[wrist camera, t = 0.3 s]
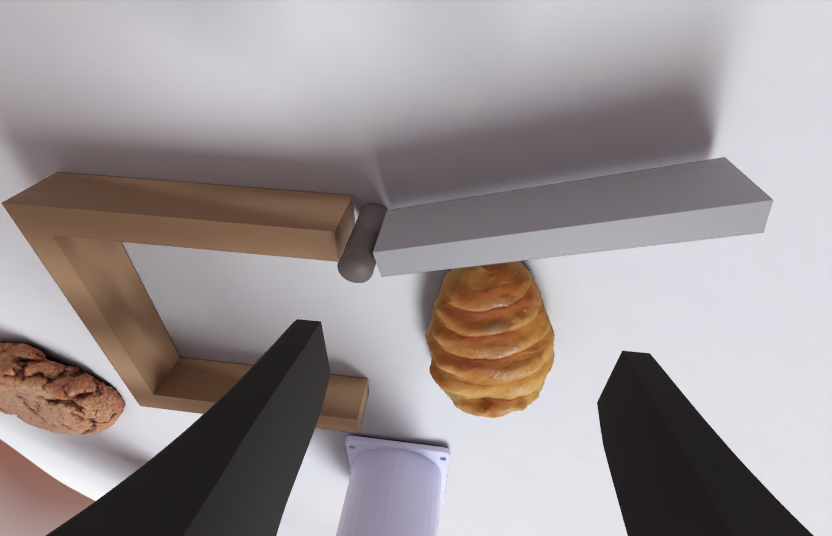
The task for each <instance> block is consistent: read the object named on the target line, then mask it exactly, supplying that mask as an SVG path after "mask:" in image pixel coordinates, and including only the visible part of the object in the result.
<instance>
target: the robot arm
mask: <svg viewBox="0 0 832 536" xmlns="http://www.w3.org/2000/svg"><path fill="white" fill-rule="evenodd" d="M329 378H330V368H329V363H328V357H327V352H326V346H325V341H324V336H323V330H322V325H321V322H319V321H309V320H299V319H297V320H296V321H295V322H293V323H292V325H291V326H290V327H289V328H288V329H287V330H286V331H285V332H284V333H283V334H282V335H281V337H280V338H279V339H278V340H277V341H276V342H275V343H274V344H273V345H272V346H271V347H270V349H269V350H268V351H267V352H266V353H265V354H264V355H263V356H262V357H261V358H260V359H259V360H258V361H257V362H256V363H255V364H254V365H253V366H252V367H251V369H250V370H249V371H248V372H247V373H246V374H245V375H244V376H243V377H242V378H241V379H240V380H239V381H238V382H237V383H236V384H235V385H234V386H233V387H232V388H231V389H230V390H229V391H228V392H227V393H226V394H225V395H224V396H223V397H221V398H220V399H219V400H218V401H217V402H216V403H215V404H214V405H213V406H212V407H211V408H210V409H209V410H207V411H206V412H205V413H204V414H203V415H202V416H201V417H200V418H199V419H198V420H197V421H196V422H195V423H193V424H192V425H191V426H190V427H189V428H188V429H187V430H185V431H184V432H183V433H182V434H181V435H180V436H179V437H177V438H176V439H175V440H174V441H173V442H172V443H170V444H169V445H168V446H167V447H166V448H164V449H163V450H162V451H161V452H159V453H158V454H157V455H156V456H155V457H153V458H152V459H151V460H150V461H148V462H147V463H146V464H145V465H143V466H142V467H141V468H139V469H138V470H137V471H135V472H134V473H133V474H132V475H130V476H129V477H128V478H126V479H125V480H124V481H122V482H121V483H120V484H118V485H117V486H116V487H115V488H113V489H112V490H111V491H109V492H108V493H106V494H105V495H104V496H102V497H101V498H100V499H98V500H97V501H95V502H94V503H93V504H91V505H90V506H88V507H87V508H86V509H84V510H83V511H81V512H80V513H78V514H77V515H76V516H74V517H73V518H71V519H69V520H68V521H67V522H65V523H64V524H62V525H61V526H60V527H58V528H56V529H55V530H53V531H52V532H50V533H49V534H47V535H46V536H276V535H277V531H278V528H279V524H280V521H281V518H282V515H283V512H284V509H285V506H286V503H287V500H288V498H289V495H290V492H291V490H292V487H293V485H294V482H295V479H296V477H297V474H298V471H299V469H300V466H301V464H302V461H303V458H304V456H305V453H306V451H307V448H308V445H309V443H310V440H311V437H312V435H313V432H314V429H315V427H316V424H317V421H318V419H319V416H320V413H321V410H322V406H323V402H324V398H325V395H326V391H327V386H328V382H329ZM597 404H598V412H599V419H600V427H601V433H602V440H603V446H604V450H605V453H606V457H607V461H608V465H609V469H610V472H611V476H612V480H613V483H614V487H615V491H616V494H617V498H618V502H619V505H620V509H621V512H622V516H623V520H624V523H625V527H626V531H627V534H628V536H813V535H812V534H811V533H810V532H809V531H808V530H807V529H806V528H805V527H804V526H803V525H802V524H801V523H800V522H799V521H798V520H797V519H796V518H795V517H794V516H793V515H792V514H791V513H790V512H789V511H788V510H787V509H786V508H785V507H784V506H783V505H782V504H781V503H780V502H779V501H778V500H777V499H776V498H775V497H774V496H773V495H772V494H771V493H770V492H769V491H768V489H767V488H766V487H765V486H764V485H763V484H762V483H761V482H760V481H759V480H758V479H757V478H756V477H755V476H754V475H753V474H752V473H751V471H750V470H749V469H748V468H747V467H746V466H745V465H744V464H743V463H742V462H741V461H740V459H739V458H738V457H737V456H736V455H735V454H734V453H733V452H732V451H731V449H730V448H729V447H728V446H727V445H726V444H725V443H724V442H723V440H722V439H721V438H720V437H719V436H718V435H717V433H716V432H715V431H714V430H713V429H712V428H711V427H710V425H709V424H708V423H707V422H706V421H705V420H704V418H703V417H702V416H701V415H700V414H699V412H698V411H697V410H696V409H695V408H694V406H693V405H692V404H691V403H690V402H689V400H688V399H687V398H686V397H685V396H684V394H683V393H682V392H681V391H680V390H679V388H678V387H677V386H676V385H675V383H674V382H673V381H672V380H671V379H670V377H669V376H668V375H667V374H666V372H665V371H664V370H663V369H662V368H661V366H660V365H659V364H658V363H657V362H656V360H655V359H654V358H653V357H652V356H651V354H650V353H640V352H629V351H622V353H621V355H620V357H619V359H618V361H617V363H616V365H615V367H614V369H613V371H612V373H611V375H610V377H609V379H608V381H607V384H606V386H605V388H604V390H603V392H602V394H601V396H600V398H599V400H598V402H597ZM345 443H346V449H347V455H348V461H349V468H350V474H351V476H350V480H349V484H348V488H347V493H346V497H345V501H344V505H343V509H342V513H341V518H340V522H339V526H338V530H337V534H336V536H438V527H439V513H440V506H442V505H443V501H444V495H445V488H446V481H447V474H448V467H449V460H450V450H449V449H448V448H445V447H438V446H430V445H422V444H414V443H406V442H398V441H390V440H382V439H374V438H366V437H358V436H348V437H347V438H346V442H345Z"/></svg>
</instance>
